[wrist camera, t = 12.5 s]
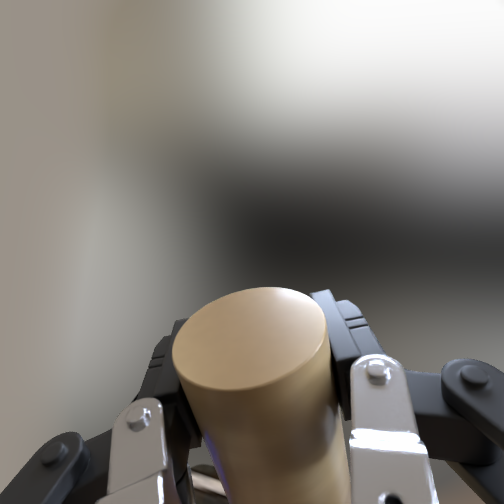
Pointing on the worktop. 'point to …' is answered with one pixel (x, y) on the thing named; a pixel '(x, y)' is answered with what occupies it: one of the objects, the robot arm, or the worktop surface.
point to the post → (266, 397)
